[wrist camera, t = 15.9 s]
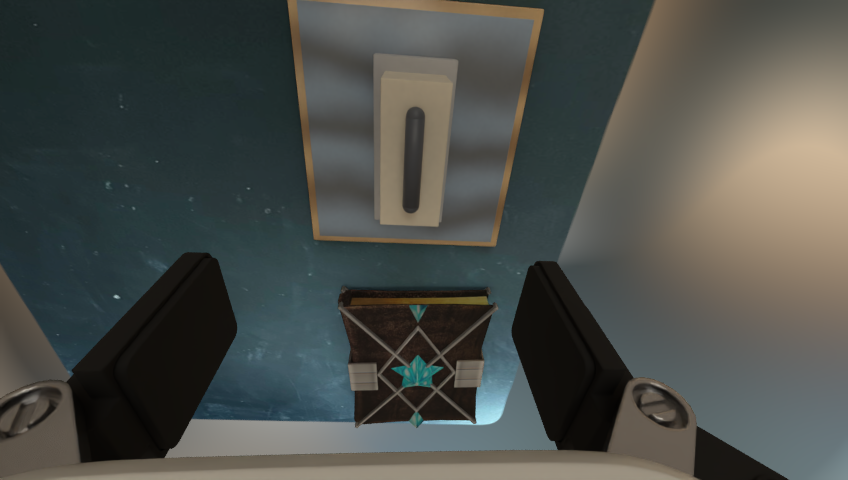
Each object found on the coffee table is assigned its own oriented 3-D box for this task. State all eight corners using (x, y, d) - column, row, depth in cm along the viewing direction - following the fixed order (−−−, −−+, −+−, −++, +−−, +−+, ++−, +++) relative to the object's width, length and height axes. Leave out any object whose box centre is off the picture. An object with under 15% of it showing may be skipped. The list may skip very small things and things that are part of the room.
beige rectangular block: (374, 52, 25) (364, 59, 19) (456, 59, 26) (471, 67, 20) (375, 212, 32) (367, 255, 26) (440, 215, 32) (447, 258, 26)
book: (341, 284, 38) (333, 316, 34) (492, 283, 39) (502, 314, 35) (356, 404, 49) (352, 439, 45) (473, 401, 50) (479, 435, 46)
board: (291, -12, 25) (284, -15, 23) (538, 10, 26) (546, 8, 24) (317, 232, 35) (313, 241, 33) (492, 239, 36) (496, 248, 35)
